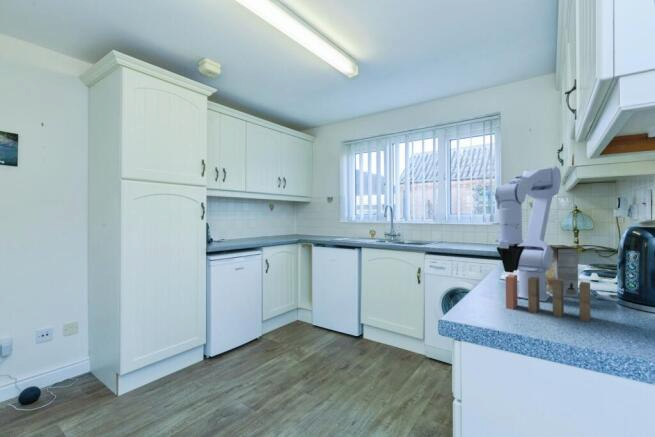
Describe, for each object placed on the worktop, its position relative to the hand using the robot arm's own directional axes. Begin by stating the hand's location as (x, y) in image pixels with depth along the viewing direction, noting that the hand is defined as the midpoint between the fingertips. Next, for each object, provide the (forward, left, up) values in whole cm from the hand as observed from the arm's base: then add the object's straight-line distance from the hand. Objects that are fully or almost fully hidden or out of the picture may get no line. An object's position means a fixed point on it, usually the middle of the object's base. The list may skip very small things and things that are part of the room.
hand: (511, 271), depth 89 cm
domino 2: (0, +6, -10) cm, 12 cm away
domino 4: (0, +17, -10) cm, 20 cm away
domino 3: (0, +11, -10) cm, 15 cm away
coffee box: (-27, +9, -11) cm, 30 cm away
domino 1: (0, 0, -10) cm, 10 cm away
